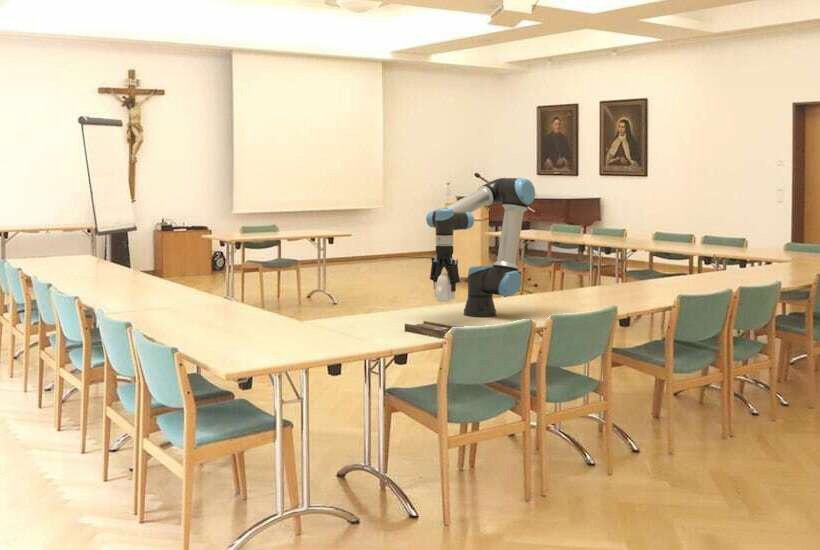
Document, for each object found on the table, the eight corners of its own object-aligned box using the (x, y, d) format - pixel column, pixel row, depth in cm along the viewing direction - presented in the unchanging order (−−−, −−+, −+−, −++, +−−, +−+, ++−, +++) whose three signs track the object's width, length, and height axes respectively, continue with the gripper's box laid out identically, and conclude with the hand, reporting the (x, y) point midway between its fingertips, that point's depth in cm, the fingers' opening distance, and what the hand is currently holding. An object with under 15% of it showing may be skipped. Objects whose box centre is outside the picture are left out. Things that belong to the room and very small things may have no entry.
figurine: (438, 302, 378) (438, 274, 377) (433, 300, 386) (433, 272, 384) (454, 301, 380) (454, 273, 379) (449, 299, 388) (449, 271, 386)
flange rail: (424, 327, 382) (424, 319, 381) (461, 335, 366) (461, 326, 365) (404, 330, 374) (404, 322, 374) (441, 338, 358) (441, 329, 357)
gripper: (421, 244, 385) (421, 296, 388) (455, 247, 369) (455, 301, 372) (433, 242, 390) (433, 294, 393) (468, 246, 374) (468, 299, 377)
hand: (444, 297), depth 383 cm, fingers closed on figurine, 8 cm apart
